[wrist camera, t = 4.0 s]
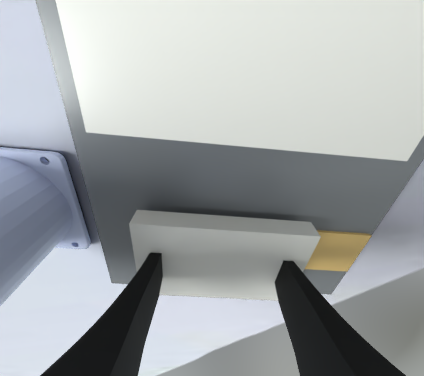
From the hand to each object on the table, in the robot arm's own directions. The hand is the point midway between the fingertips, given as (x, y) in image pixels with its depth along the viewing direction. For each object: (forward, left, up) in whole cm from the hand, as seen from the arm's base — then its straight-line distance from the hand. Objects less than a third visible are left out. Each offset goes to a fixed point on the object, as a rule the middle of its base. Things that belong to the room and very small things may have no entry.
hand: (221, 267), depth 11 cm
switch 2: (0, 0, -1) cm, 1 cm away
